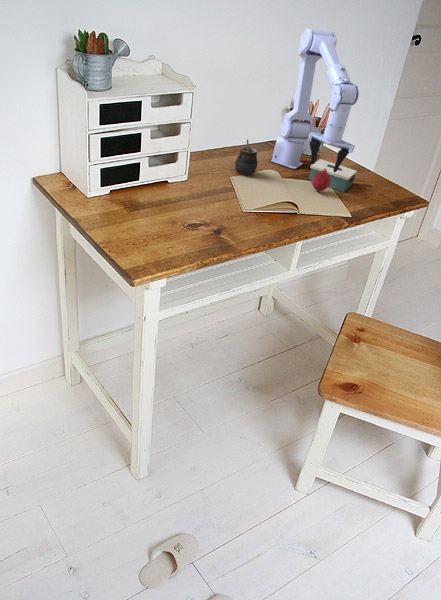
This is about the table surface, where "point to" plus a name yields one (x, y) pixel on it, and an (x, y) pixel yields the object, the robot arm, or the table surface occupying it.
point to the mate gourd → (246, 160)
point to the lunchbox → (334, 174)
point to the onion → (321, 180)
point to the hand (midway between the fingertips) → (324, 167)
